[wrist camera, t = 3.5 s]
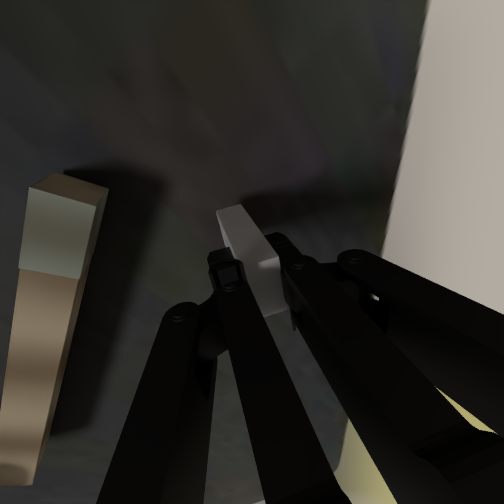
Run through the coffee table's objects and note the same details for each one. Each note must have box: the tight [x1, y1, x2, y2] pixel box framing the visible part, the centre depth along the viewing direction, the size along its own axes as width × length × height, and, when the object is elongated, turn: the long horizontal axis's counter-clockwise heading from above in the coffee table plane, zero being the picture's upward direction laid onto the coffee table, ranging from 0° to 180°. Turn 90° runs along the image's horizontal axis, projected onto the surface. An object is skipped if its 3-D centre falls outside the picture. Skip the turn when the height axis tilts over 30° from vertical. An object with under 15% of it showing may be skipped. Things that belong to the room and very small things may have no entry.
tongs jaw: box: [0, 172, 109, 487], centre depth 17 cm, size 22×2×3 cm, turn 156°
